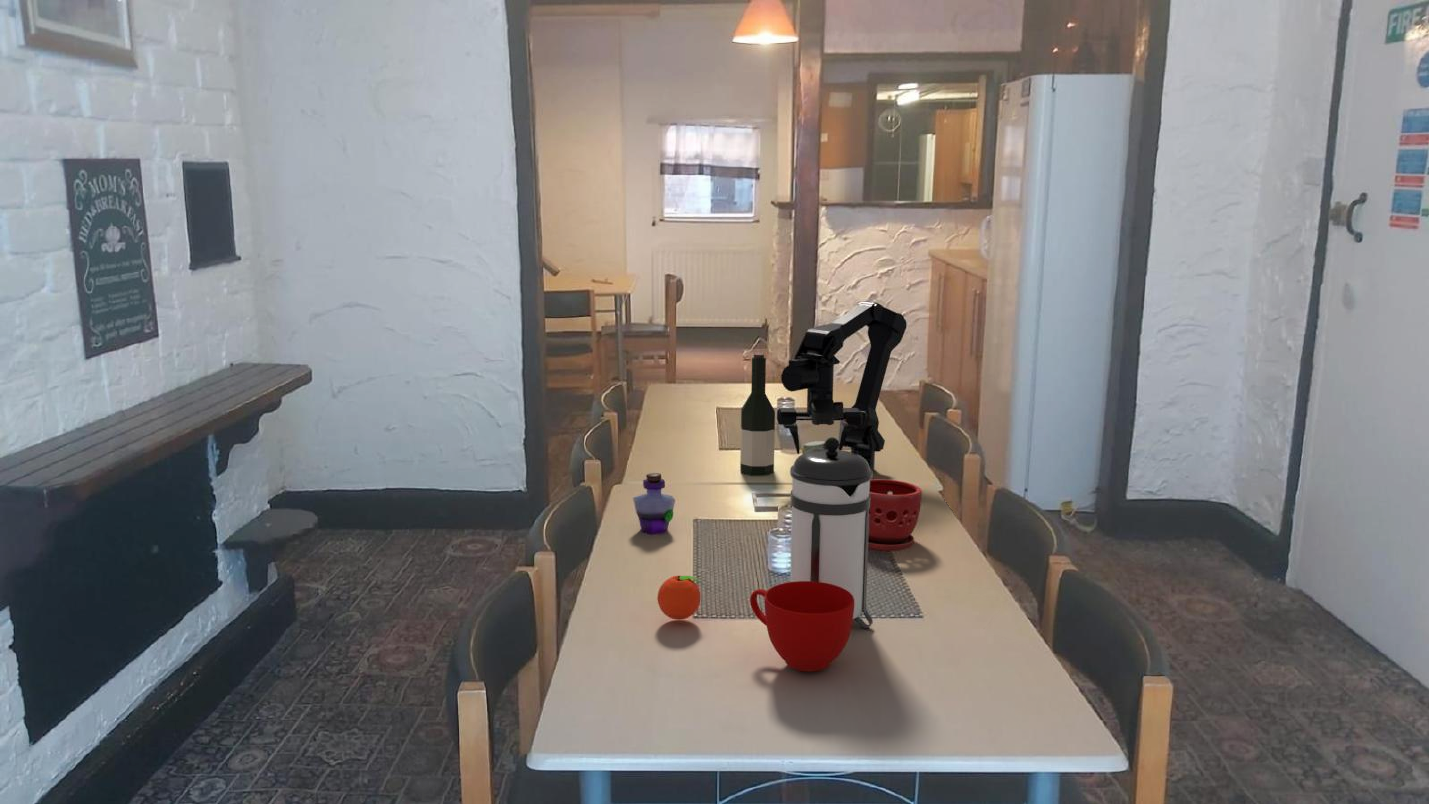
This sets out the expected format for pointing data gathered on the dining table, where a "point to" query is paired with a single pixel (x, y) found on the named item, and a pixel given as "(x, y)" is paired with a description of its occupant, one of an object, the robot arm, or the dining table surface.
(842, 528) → the coffee press
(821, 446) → the beverage can
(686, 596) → the clementine
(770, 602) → the ceramic cup
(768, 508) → the board
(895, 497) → the plant pot
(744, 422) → the wine bottle
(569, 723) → the dining table surface
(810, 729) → the dining table surface
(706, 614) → the dining table surface
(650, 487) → the potion bottle
